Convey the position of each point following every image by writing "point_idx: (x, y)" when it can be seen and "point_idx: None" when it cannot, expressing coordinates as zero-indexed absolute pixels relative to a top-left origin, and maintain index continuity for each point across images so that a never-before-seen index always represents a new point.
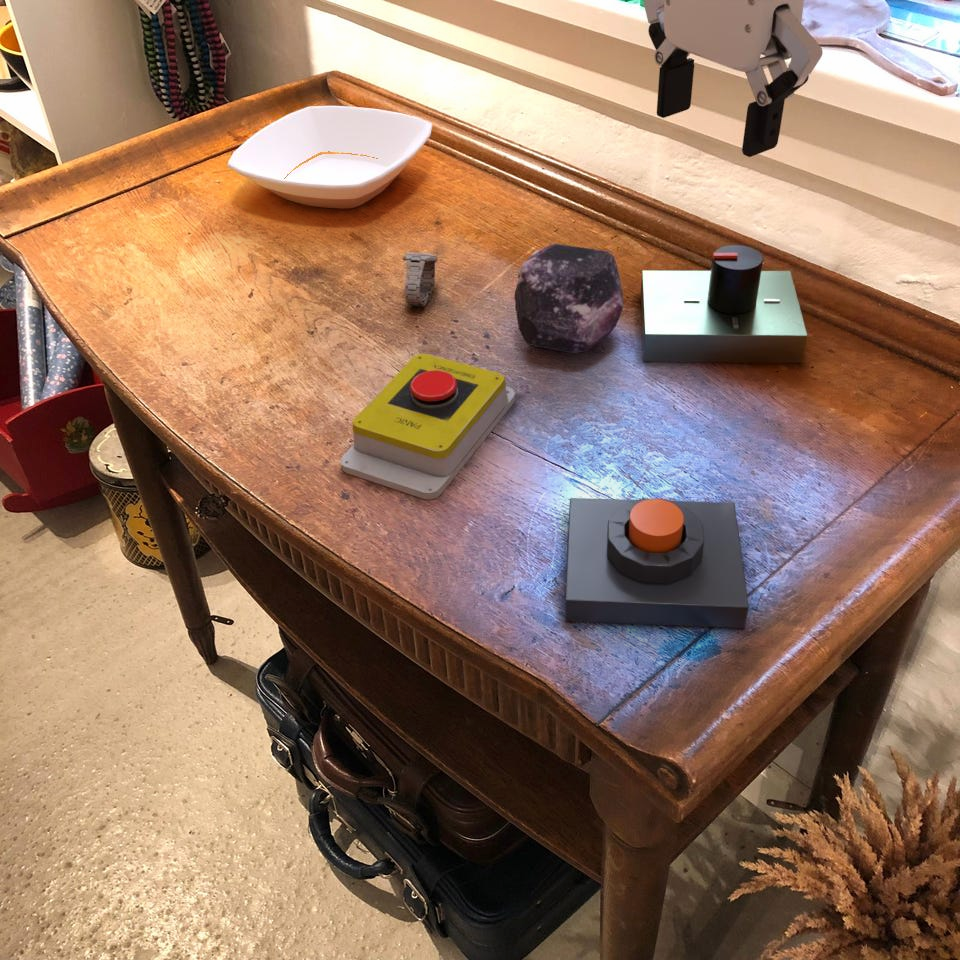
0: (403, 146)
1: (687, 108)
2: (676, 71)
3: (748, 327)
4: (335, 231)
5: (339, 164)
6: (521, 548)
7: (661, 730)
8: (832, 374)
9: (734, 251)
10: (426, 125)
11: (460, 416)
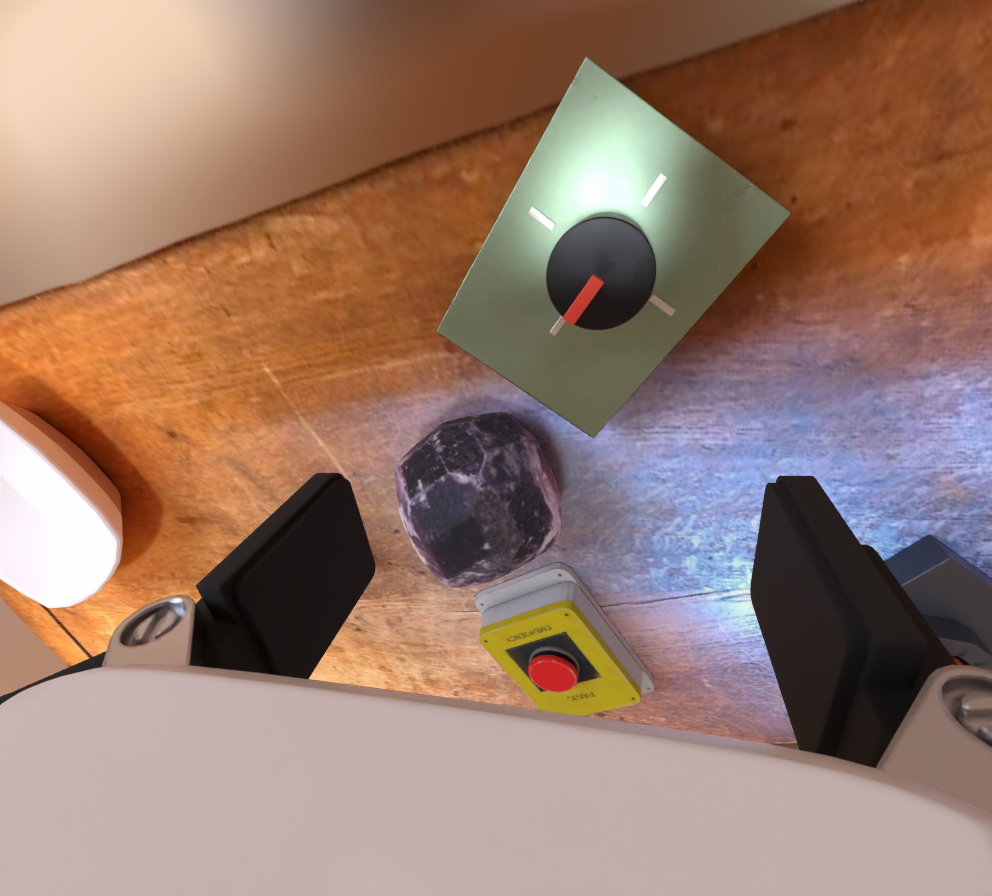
0: None
1: (350, 489)
2: (284, 651)
3: (688, 294)
4: (169, 529)
5: (8, 459)
6: (767, 673)
7: None
8: (839, 180)
9: (576, 266)
10: None
11: (603, 667)
